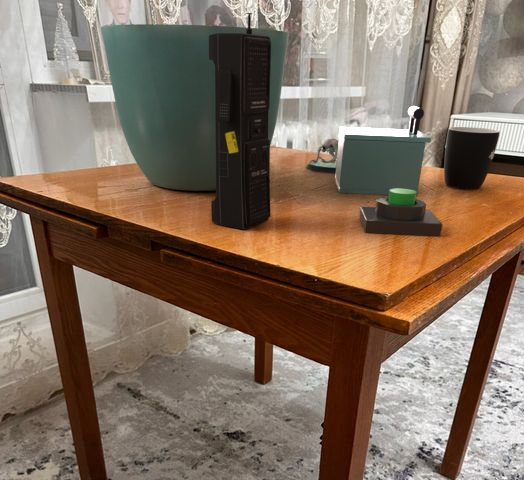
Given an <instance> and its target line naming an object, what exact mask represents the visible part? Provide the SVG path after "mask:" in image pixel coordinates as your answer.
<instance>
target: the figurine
mask: <svg viewBox="0 0 524 480" xmlns="http://www.w3.org/2000/svg"><path fill="white" fill-rule="evenodd" d="M338 141H339V139H336V138H327V139H325V140H324V142H323V143H322V144H321V145H320V146H319V147H318V149H317V155H316V159H310V160H309V161H308V163H307V164H306V166H305V169H306V170H308V171H312V172H316V173H317V172H318V173H324V174H325V173H326V174H335V173H336V163H337V152H338ZM321 153H328V154H329V155H330V156H331V157H332V158H331V159H324V158H322V157H321V156H320V154H321Z"/></svg>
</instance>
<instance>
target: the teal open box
mask: <svg viewBox="0 0 524 480" xmlns="http://www.w3.org/2000/svg"><path fill="white" fill-rule="evenodd" d="M338 132H339V131H338ZM338 140H339V141H338V152H337V159H336V160H337V163H336V173H334V183H335V185H336V188H337V191H338V193H339V194H353V195H354V194H357V195H360V194H361V195H376V196H378V195H380V196H389V191H390V189H396V188H400V189H410V190H414V191H416V192H417V193H416V197H417V196H418V193H419V186H420V181H421V180H420V179H421V175H422V167H423V160H424V157H425V156H424V155H425V148H426V143H427V142H402V141H378V140H353V139H344V138H343V136H342V135H341V133H340V132H339V133H338Z"/></svg>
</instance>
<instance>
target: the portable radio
mask: <svg viewBox="0 0 524 480" xmlns="http://www.w3.org/2000/svg"><path fill="white" fill-rule="evenodd" d="M246 15H247V28H248V29H246V34H245V33H217V34H212V35H209V59H210V60H213V62H214V64H215V115H216V190H215V197H214V199H212V200H211V201H210V203H211V205H210V206H211V207H210V208H211V209H210V210H211V211H210V212H211V222H212V223H214V224H216V225H219V226H223V227H228V228H234V229H238V230H243V231H244V230H248V229H250V228H252V227H255V226H257V225H259V224H261V223H264V222H267V221H268V220H269V218H271V215H272V214H271V178H270V177H271V174H270V173H271V145H270V140H269V139H268V111H269V106H270V69H271V41H270V37H268V36H262V35H254V34H252V29H251V28H252V27H251V26H252V25H251V21H252V15H253V12H252V13H251V12H246Z"/></svg>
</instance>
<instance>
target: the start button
mask: <svg viewBox="0 0 524 480" xmlns="http://www.w3.org/2000/svg"><path fill="white" fill-rule="evenodd" d="M417 192H418V191H417ZM417 192H416V191H414V190H410V189H400V188H396V189H390V191H389V195H388V197H389V198H388V202H389V203H392V204H397V205H415V199H417V196H416V193H417ZM417 194H418V193H417Z"/></svg>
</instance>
